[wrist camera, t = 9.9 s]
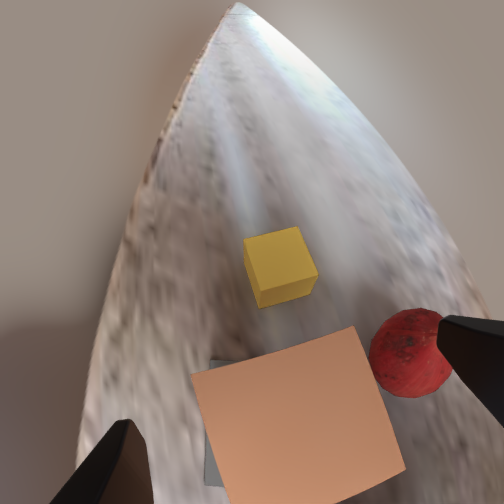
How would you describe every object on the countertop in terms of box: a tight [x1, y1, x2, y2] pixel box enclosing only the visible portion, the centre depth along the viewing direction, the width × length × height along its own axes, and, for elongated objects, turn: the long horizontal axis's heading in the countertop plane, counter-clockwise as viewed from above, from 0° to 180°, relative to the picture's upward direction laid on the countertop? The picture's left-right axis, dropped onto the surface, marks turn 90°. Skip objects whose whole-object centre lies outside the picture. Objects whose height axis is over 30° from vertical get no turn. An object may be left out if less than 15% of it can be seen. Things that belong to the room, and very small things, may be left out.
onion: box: [368, 308, 453, 398], centre depth 17 cm, size 6×6×8 cm
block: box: [243, 226, 319, 309], centre depth 23 cm, size 4×4×4 cm
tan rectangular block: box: [191, 325, 406, 504], centre depth 14 cm, size 6×6×10 cm
